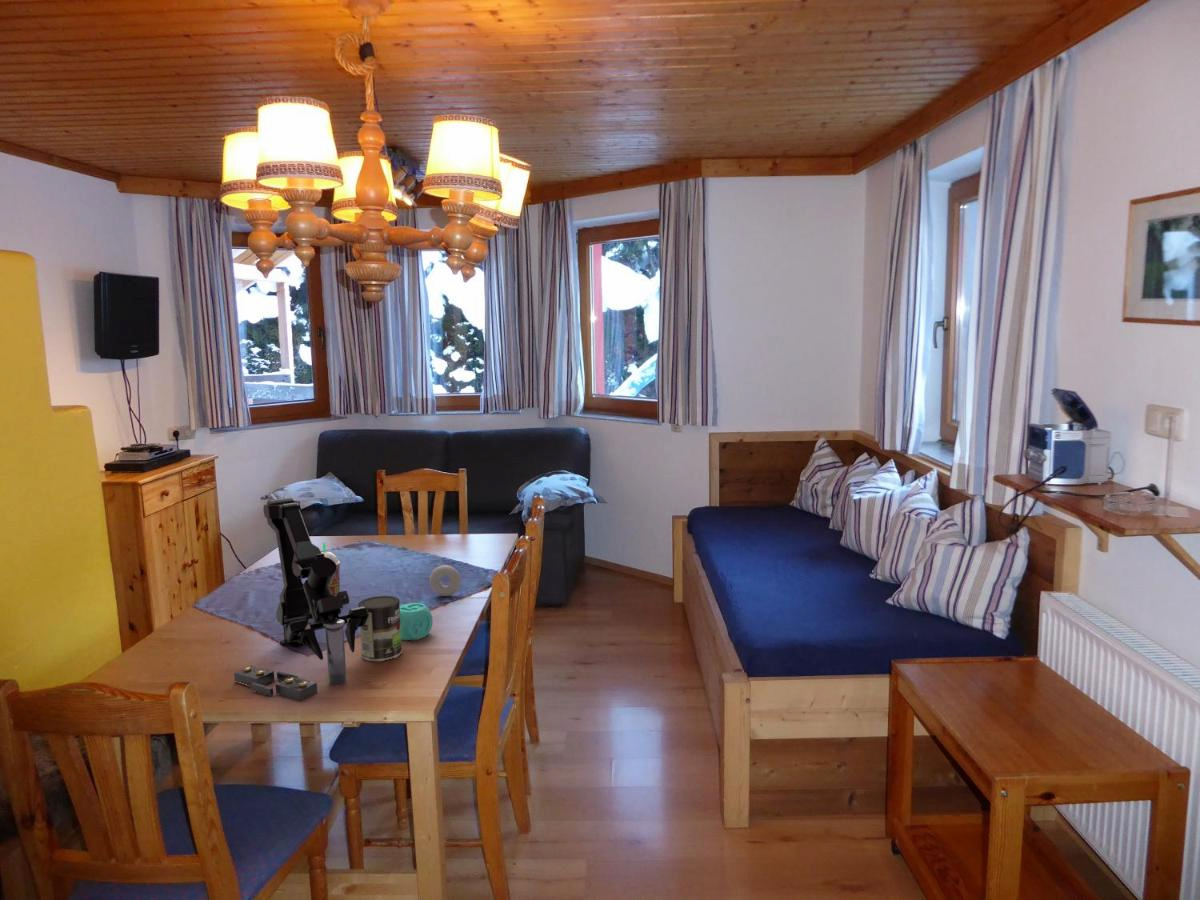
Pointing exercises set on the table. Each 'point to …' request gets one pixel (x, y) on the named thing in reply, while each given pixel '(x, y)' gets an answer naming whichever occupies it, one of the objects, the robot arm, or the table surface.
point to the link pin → (335, 651)
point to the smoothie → (336, 580)
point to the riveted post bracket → (287, 687)
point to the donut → (451, 574)
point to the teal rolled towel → (415, 621)
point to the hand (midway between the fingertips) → (337, 655)
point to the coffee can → (381, 629)
